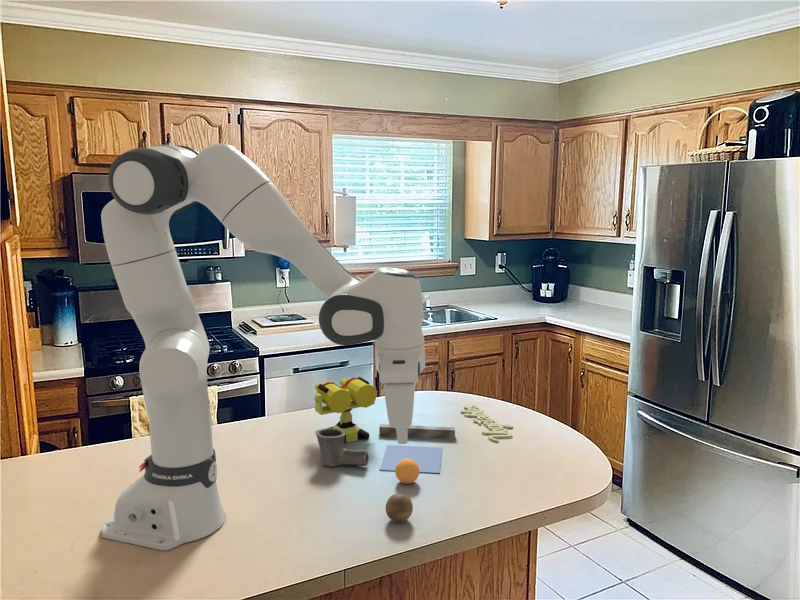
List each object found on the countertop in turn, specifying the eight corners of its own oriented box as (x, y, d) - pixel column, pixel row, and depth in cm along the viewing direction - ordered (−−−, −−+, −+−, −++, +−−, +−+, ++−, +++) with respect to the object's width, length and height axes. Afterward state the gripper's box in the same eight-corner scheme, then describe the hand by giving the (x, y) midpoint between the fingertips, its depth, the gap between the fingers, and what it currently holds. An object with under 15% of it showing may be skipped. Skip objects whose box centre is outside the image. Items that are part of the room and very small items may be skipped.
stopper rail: (379, 435, 161) (379, 426, 161) (380, 432, 163) (380, 423, 163) (454, 439, 159) (455, 430, 159) (455, 436, 161) (455, 427, 161)
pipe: (364, 473, 140) (363, 440, 139) (311, 467, 143) (310, 435, 141) (370, 461, 146) (370, 430, 145) (320, 456, 149) (319, 426, 147)
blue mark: (379, 470, 141) (379, 469, 141) (387, 445, 155) (387, 444, 155) (439, 473, 140) (439, 472, 140) (442, 448, 154) (442, 447, 154)
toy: (358, 419, 173) (357, 368, 170) (382, 436, 161) (382, 382, 158) (302, 431, 164) (301, 378, 161) (324, 450, 152) (323, 393, 150)
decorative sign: (527, 436, 160) (492, 441, 157) (526, 440, 160) (492, 444, 157) (484, 403, 185) (453, 406, 182) (484, 406, 185) (453, 409, 182)
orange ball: (393, 487, 133) (393, 464, 132) (396, 476, 139) (396, 453, 138) (418, 488, 133) (418, 465, 132) (420, 477, 138) (420, 455, 137)
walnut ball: (383, 526, 118) (383, 501, 117) (387, 512, 123) (387, 487, 122) (411, 528, 117) (411, 502, 116) (413, 514, 122) (414, 489, 121)
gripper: (385, 343, 118) (389, 410, 121) (378, 377, 98) (382, 456, 101) (418, 342, 118) (420, 409, 121) (417, 376, 98) (420, 455, 101)
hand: (403, 431), depth 111 cm, fingers open, 8 cm apart
